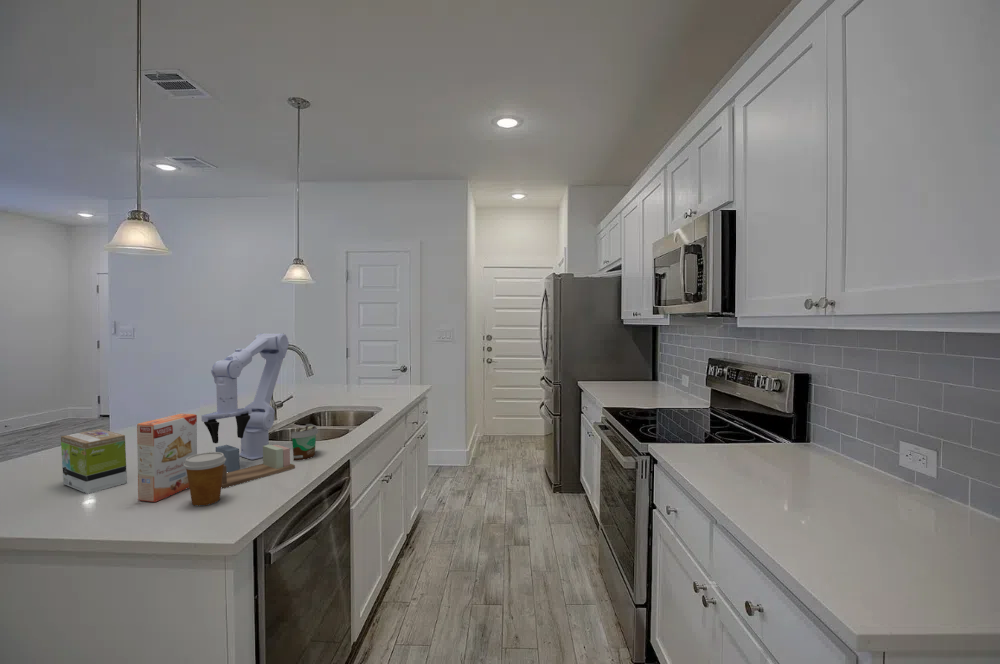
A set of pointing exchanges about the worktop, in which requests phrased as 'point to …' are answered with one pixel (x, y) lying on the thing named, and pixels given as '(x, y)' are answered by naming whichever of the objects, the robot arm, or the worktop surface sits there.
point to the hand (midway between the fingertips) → (228, 440)
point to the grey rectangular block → (230, 457)
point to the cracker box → (164, 455)
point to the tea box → (93, 460)
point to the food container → (304, 442)
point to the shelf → (249, 474)
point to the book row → (276, 456)
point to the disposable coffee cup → (205, 477)
